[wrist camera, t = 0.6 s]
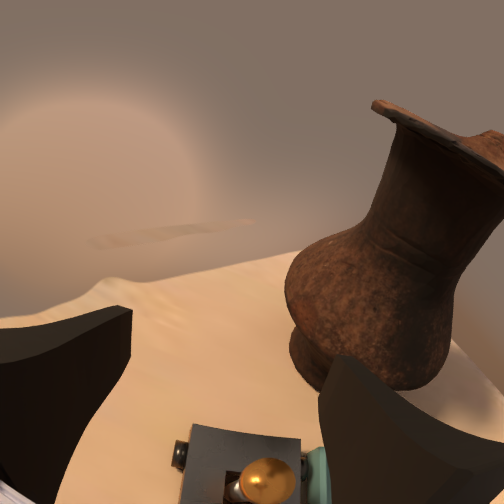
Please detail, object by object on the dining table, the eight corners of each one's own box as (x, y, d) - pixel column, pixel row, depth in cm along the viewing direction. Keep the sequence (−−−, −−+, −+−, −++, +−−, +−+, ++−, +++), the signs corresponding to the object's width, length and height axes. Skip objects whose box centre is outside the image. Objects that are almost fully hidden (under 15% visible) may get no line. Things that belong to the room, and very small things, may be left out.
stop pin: (252, 510, 18) (295, 505, 13) (213, 506, 18) (240, 503, 12) (254, 478, 20) (296, 459, 15) (217, 473, 20) (244, 454, 15)
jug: (320, 464, 23) (612, 184, 5) (223, 322, 33) (332, 24, 15) (423, 372, 34) (569, 193, 16) (344, 282, 45) (443, 99, 27)
